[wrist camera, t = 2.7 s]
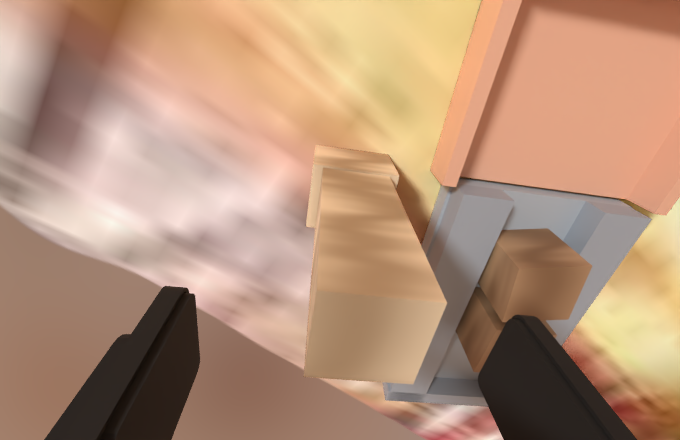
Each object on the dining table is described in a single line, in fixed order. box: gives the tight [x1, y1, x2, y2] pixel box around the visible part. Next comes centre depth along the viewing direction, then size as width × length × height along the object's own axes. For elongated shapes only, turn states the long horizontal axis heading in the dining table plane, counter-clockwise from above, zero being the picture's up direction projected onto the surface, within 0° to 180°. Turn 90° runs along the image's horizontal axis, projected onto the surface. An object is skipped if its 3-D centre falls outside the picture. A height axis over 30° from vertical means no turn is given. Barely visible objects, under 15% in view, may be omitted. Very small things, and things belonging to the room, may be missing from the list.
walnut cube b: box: [478, 228, 592, 322], centre depth 20 cm, size 4×4×4 cm
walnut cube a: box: [455, 287, 557, 373], centre depth 22 cm, size 4×4×4 cm
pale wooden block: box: [304, 145, 447, 384], centre depth 14 cm, size 4×4×12 cm
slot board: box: [383, 178, 652, 407], centre depth 24 cm, size 12×19×3 cm, turn 171°
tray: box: [430, 0, 680, 215], centre depth 17 cm, size 14×11×2 cm
